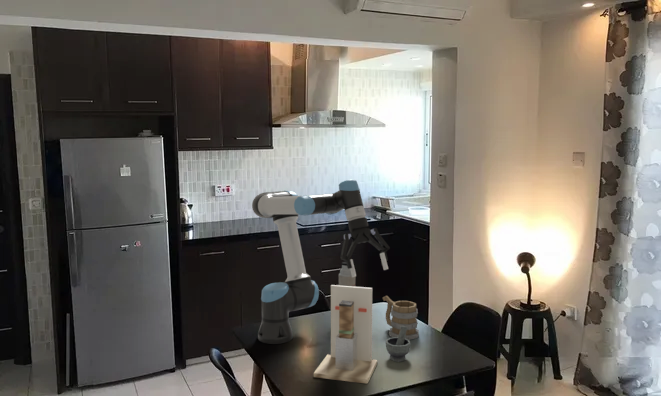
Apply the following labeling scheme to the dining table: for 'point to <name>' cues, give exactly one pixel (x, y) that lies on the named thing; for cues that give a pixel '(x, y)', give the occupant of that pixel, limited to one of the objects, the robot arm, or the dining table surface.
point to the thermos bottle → (346, 276)
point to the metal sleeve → (346, 352)
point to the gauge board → (361, 317)
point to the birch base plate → (359, 373)
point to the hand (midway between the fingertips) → (370, 273)
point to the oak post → (346, 319)
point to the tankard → (402, 318)
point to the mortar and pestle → (398, 346)
